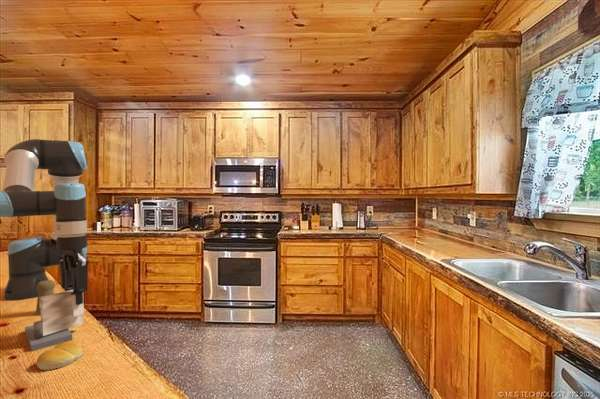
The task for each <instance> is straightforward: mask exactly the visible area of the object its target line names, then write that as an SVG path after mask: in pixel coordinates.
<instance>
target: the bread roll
mask: <svg viewBox="0 0 600 399" xmlns="http://www.w3.org/2000/svg"><path fill="white" fill-rule="evenodd" d="M83 354H84V351H83V349H82V347H81V346H80V345H79V344H78V343H77V342H74V341H66V342H63V343H59V344H56V345H54V347H53V348H51V349H47V350H45V351H43V352H42V353H41V354H39V356H38V357H37V360H36V367H37V368H38V369H40V370H42V371H51V370H56V368H57V369H60V368H61V369H62V368H64V367H67V366H69V365H71V364H72V363H73V362H74V361H77V360H78V359H80V358H81V356H82V355H83Z"/></svg>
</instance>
